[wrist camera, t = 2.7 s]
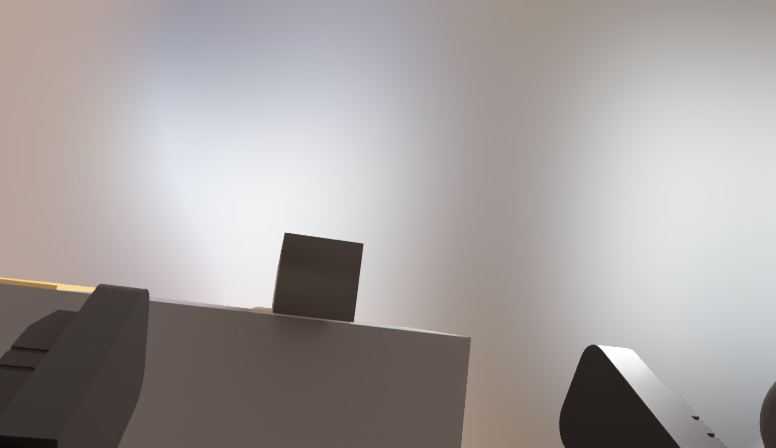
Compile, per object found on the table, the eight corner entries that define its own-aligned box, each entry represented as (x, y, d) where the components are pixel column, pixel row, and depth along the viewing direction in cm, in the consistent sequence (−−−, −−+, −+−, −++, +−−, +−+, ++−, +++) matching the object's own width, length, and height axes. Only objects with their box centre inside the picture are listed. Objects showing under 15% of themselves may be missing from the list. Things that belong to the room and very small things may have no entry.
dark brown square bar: (353, 322, 22) (363, 243, 22) (272, 313, 21) (284, 232, 22) (312, 313, 43) (317, 273, 44) (271, 308, 43) (277, 267, 43)
